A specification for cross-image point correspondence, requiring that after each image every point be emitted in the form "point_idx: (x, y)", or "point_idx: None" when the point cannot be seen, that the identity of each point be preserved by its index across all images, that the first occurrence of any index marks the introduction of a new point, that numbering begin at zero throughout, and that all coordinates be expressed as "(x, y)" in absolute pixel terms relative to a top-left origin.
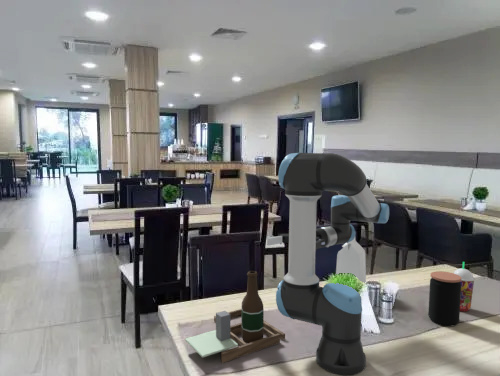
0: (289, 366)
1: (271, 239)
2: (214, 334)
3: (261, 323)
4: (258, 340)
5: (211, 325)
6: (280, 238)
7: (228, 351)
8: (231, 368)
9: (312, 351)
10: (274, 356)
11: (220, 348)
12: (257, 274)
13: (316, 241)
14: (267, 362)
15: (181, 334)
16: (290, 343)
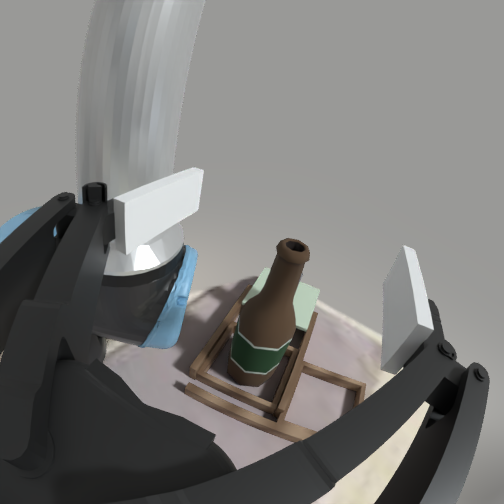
0: None
1: (401, 266)
2: (297, 312)
3: (233, 343)
4: (219, 331)
5: (349, 374)
6: (405, 324)
7: (245, 290)
8: (226, 289)
9: (115, 366)
10: (180, 332)
11: (257, 285)
12: (278, 250)
13: (6, 259)
14: (184, 314)
15: (355, 329)
16: (167, 382)
